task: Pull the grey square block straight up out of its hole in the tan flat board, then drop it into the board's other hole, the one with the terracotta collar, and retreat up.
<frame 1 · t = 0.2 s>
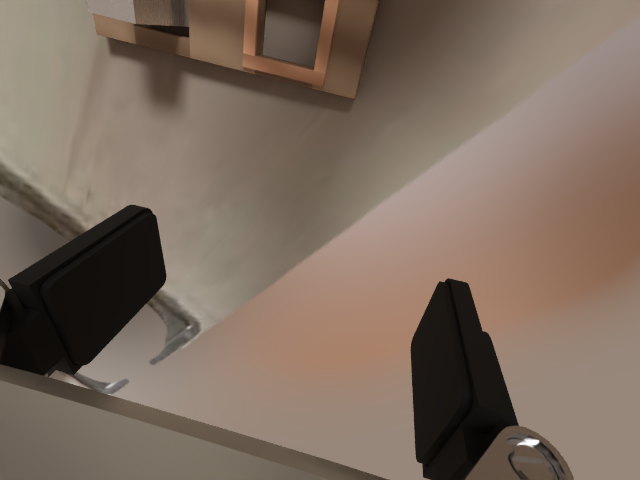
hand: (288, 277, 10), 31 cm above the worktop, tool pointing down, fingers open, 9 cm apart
tan flat board: (231, 12, 34), on the worktop
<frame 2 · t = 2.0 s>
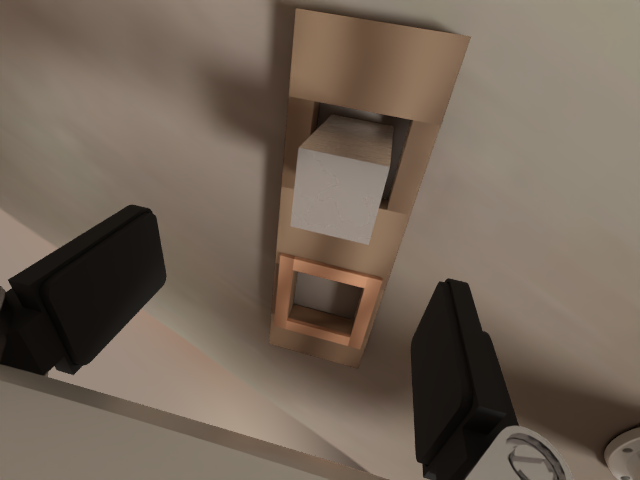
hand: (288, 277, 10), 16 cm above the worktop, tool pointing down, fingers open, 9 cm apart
grey square block: (356, 151, 24), resting in tan flat board
tan flat board: (340, 229, 28), on the worktop
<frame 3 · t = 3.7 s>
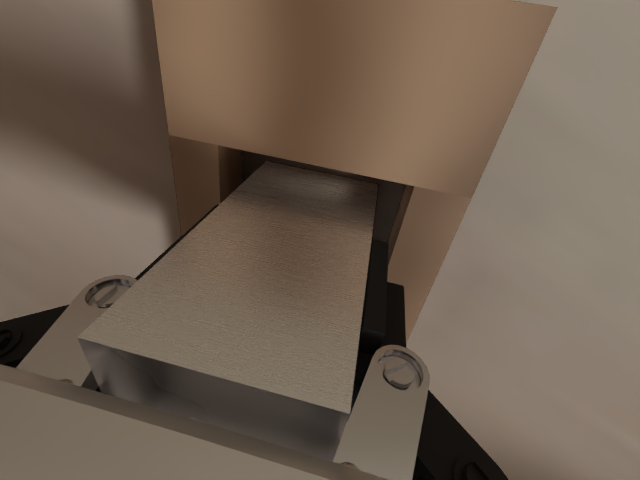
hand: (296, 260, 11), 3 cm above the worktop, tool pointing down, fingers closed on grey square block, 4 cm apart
grey square block: (314, 221, 14), resting in tan flat board, touching gripper
tan flat board: (297, 330, 17), on the worktop
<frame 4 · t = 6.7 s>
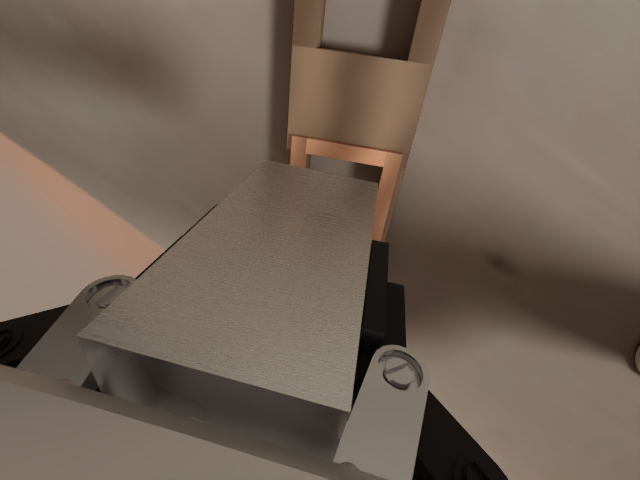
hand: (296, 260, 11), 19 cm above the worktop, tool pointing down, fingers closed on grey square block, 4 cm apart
grey square block: (314, 220, 14), point 16 cm above the worktop, touching gripper
tan flat board: (354, 106, 26), on the worktop
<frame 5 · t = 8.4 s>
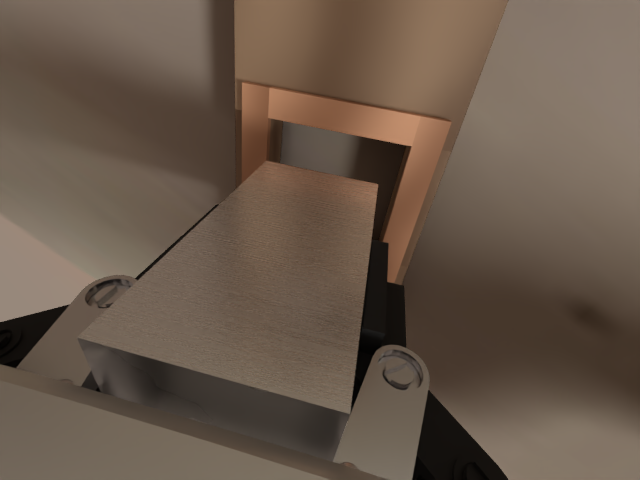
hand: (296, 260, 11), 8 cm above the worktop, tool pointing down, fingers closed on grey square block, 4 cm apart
grey square block: (314, 221, 14), point 5 cm above the worktop, touching gripper
tan flat board: (361, 32, 14), on the worktop
when the fingers open (4 cm above the worktop, at t = 9.5 s): grey square block stays where it is, resting in tan flat board.
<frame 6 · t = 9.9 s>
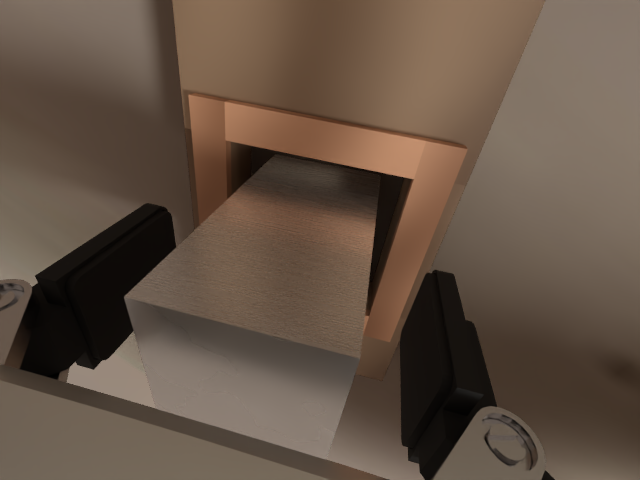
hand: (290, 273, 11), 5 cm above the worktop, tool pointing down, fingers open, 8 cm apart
grey square block: (320, 211, 14), resting in tan flat board
tan flat board: (346, 28, 11), on the worktop
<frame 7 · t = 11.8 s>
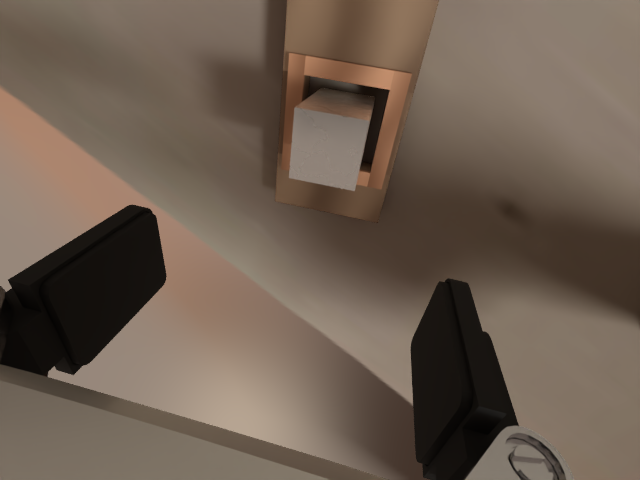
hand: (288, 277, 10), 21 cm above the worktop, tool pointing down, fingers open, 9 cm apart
grey square block: (343, 120, 27), resting in tan flat board
tan flat board: (359, 22, 23), on the worktop
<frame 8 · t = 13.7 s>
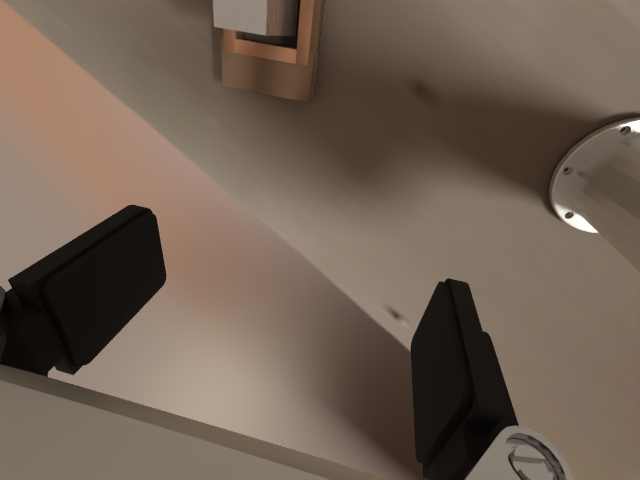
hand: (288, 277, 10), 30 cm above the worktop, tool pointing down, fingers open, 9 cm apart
grey square block: (275, 6, 32), resting in tan flat board
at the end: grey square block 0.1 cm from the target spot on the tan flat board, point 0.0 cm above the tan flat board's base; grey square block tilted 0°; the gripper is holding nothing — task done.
